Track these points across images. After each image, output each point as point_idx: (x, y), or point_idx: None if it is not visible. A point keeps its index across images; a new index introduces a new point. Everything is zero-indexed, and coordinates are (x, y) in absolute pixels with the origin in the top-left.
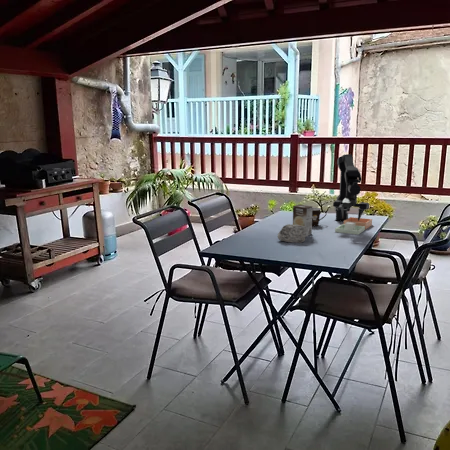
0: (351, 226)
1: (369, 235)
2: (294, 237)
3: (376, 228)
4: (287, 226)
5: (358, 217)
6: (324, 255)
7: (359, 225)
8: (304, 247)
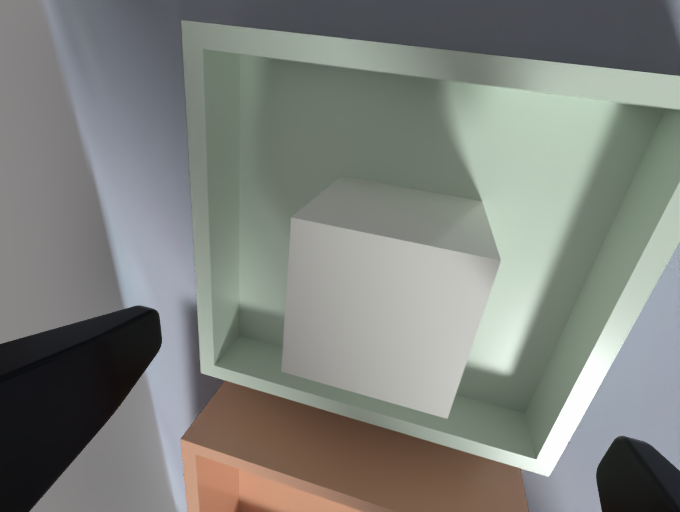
0: (340, 206)
1: (105, 110)
2: None
3: (169, 441)
4: None
5: (55, 345)
6: None
7: (288, 432)
8: None
